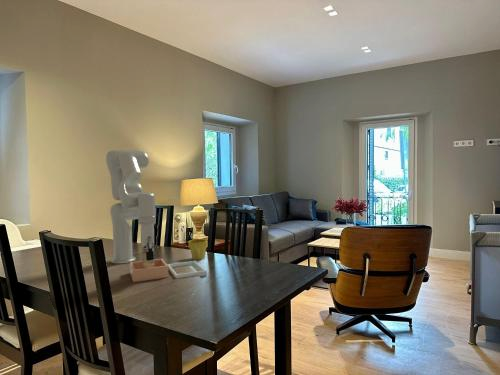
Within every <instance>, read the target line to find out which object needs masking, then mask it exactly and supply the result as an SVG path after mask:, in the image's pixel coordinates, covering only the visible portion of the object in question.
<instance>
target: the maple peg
mask: <svg viewBox="0 0 500 375" xmlns="http://www.w3.org/2000/svg"><path fill="white" fill-rule="evenodd" d="M143 248H144V247H143ZM143 248H142V255H141V256H142V261H143V269H144V268H151V267H154V260H149V261H147V260H146V251H147V250H146V248H144V249H143ZM153 251H154V252H155V248H154V247H153Z"/></svg>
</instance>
